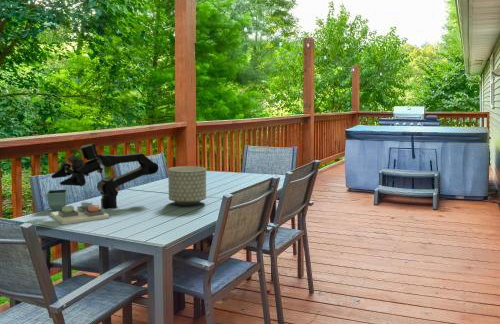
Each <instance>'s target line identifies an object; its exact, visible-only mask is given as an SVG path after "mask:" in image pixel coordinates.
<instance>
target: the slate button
mask: <svg viewBox="0 0 500 324" xmlns="http://www.w3.org/2000/svg"><path fill="white" fill-rule="evenodd" d="M80 203H81V205H80V206H81V208H82V209H86V208H88V206H91V205H93V201H90V200H88V201H82V202H80Z"/></svg>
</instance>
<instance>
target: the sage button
mask: <svg viewBox="0 0 500 324" xmlns="http://www.w3.org/2000/svg"><path fill="white" fill-rule="evenodd" d="M74 207H75V206H73V205H65V206H64V207H62V210H61V211H62V213H64V214H66V213H73V212H74Z"/></svg>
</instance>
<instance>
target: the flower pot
mask: <svg viewBox="0 0 500 324" xmlns="http://www.w3.org/2000/svg"><path fill="white" fill-rule="evenodd" d="M46 199H47V204H48V206H49V208H50V210H51V211H52V212H56V211H62V207H64V206H67V205H66V204H67V200H68V189H53V190H47V192H46Z"/></svg>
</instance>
